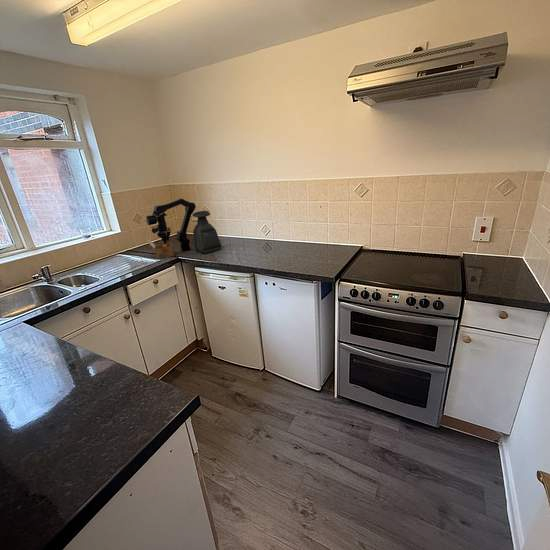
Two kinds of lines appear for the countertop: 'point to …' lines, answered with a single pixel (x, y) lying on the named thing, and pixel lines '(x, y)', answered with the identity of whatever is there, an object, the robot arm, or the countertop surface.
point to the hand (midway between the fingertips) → (166, 242)
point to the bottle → (205, 234)
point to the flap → (151, 243)
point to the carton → (164, 251)
